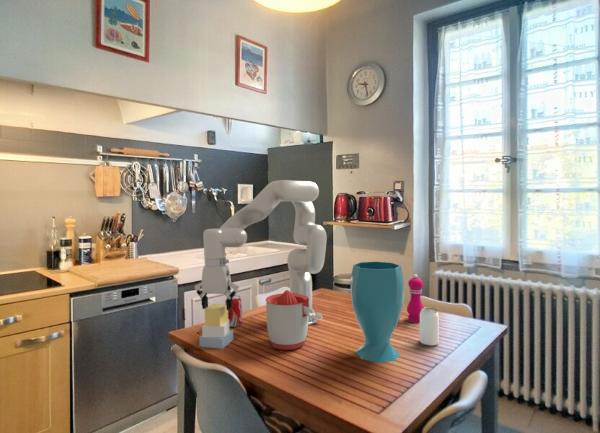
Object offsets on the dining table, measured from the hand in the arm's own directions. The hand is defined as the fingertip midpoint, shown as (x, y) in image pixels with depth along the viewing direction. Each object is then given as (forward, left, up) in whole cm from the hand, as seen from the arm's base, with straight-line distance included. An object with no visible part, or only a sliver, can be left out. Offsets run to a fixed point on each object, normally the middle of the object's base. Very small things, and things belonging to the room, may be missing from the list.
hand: (217, 308), depth 135 cm
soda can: (+2, -20, -13) cm, 24 cm away
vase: (-58, -3, -13) cm, 59 cm away
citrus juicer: (-27, -4, -13) cm, 30 cm away
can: (-76, -16, -13) cm, 78 cm away
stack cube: (0, 0, -5) cm, 5 cm away
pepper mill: (-73, -41, -13) cm, 84 cm away
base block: (0, 0, -13) cm, 13 cm away
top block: (+1, 0, -9) cm, 9 cm away
